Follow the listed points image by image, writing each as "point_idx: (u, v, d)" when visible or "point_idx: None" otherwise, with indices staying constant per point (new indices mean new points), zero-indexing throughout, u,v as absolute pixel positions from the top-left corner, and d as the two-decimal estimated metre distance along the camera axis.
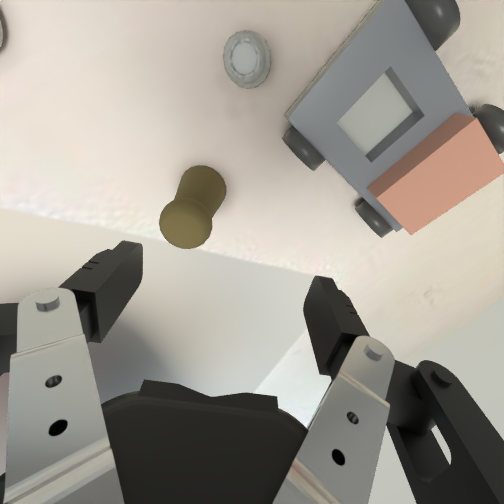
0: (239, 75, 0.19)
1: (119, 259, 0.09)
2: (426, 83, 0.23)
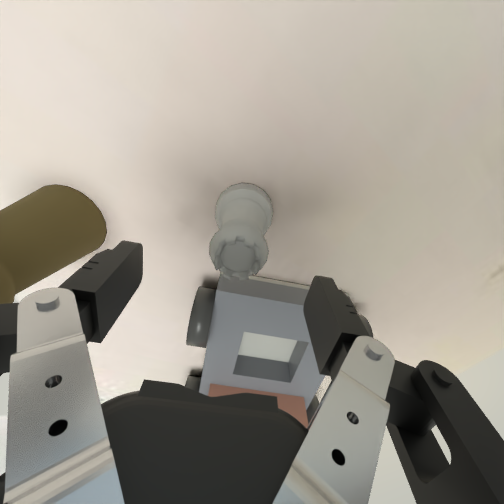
0: (217, 263, 0.13)
1: (119, 259, 0.09)
2: (311, 370, 0.24)
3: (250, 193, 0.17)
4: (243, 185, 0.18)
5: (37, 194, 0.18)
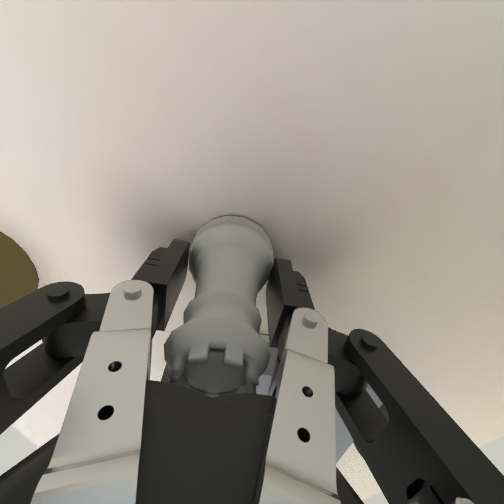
0: None
1: (176, 256, 0.10)
2: None
3: (240, 234, 0.11)
4: (230, 219, 0.12)
5: None
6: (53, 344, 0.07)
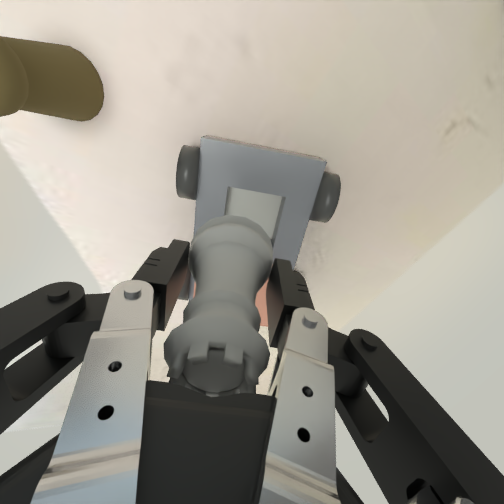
0: None
1: (176, 256, 0.10)
2: (290, 231, 0.27)
3: (239, 233, 0.11)
4: (229, 218, 0.12)
5: (43, 42, 0.21)
6: (53, 344, 0.07)
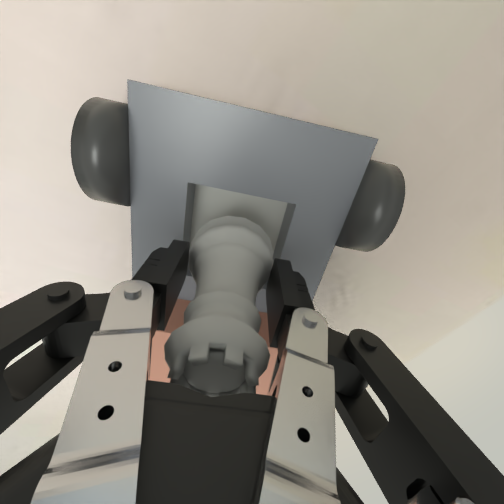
0: None
1: (176, 256, 0.10)
2: (301, 263, 0.16)
3: (239, 234, 0.11)
4: (230, 219, 0.12)
5: None
6: (53, 344, 0.07)
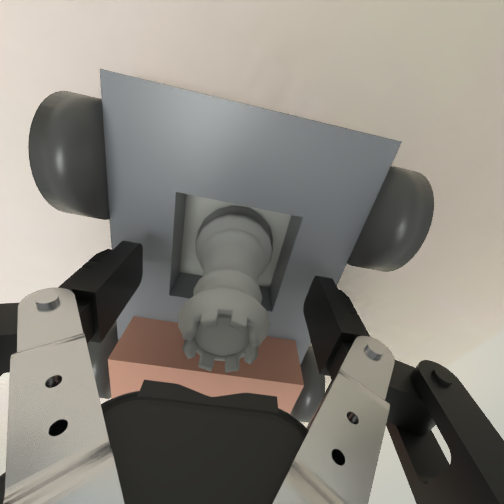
0: (188, 351, 0.08)
1: (119, 259, 0.09)
2: (307, 283, 0.14)
3: (242, 222, 0.12)
4: (233, 209, 0.13)
5: None
6: None
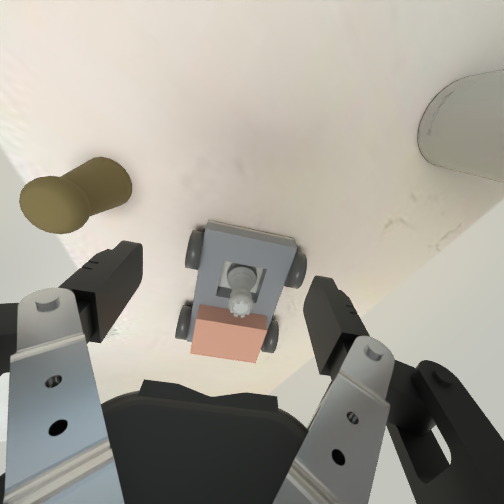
0: (231, 310, 0.30)
1: (119, 259, 0.09)
2: (269, 292, 0.36)
3: (245, 269, 0.34)
4: None
5: (92, 161, 0.28)
6: None
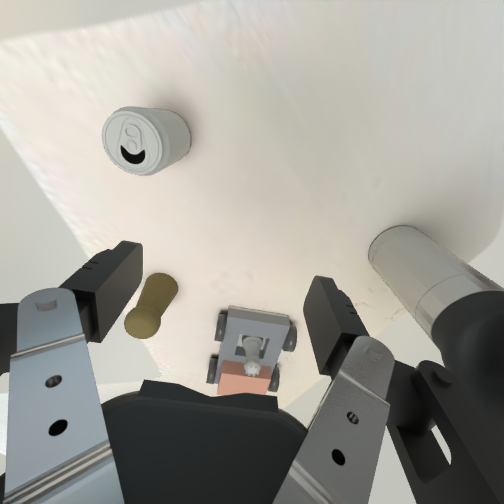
0: (246, 372, 0.45)
1: (119, 259, 0.09)
2: (272, 352, 0.51)
3: (255, 338, 0.49)
4: None
5: (155, 279, 0.44)
6: None
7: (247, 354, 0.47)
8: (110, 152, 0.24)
